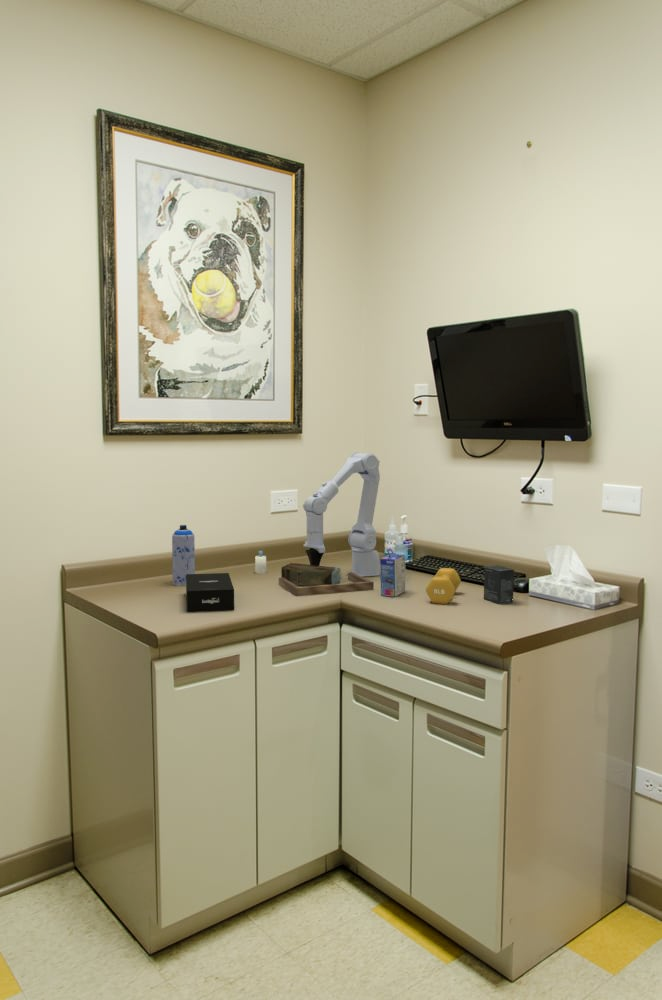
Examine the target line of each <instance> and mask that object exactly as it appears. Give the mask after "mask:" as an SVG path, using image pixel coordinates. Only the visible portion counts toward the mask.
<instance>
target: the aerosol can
mask: <svg viewBox="0 0 662 1000" xmlns="http://www.w3.org/2000/svg"><path fill="white" fill-rule="evenodd" d="M171 546H172V549H171V550H172V551H171V552H172V553H171V554H172V555H171V557H172V583H171V585H173V586H179V587H180V586H182V587H183V586H184V587H186V574H196V566H195V565H196V563H195V562H196V559H195V534H194V532H193V531H192V530H190V529H189V528H188V527H187V524H181V525H179V528H178V529H177V530H175V531H174V533H173V534H172V536H171Z"/></svg>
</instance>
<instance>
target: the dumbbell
mask: <svg viewBox="0 0 662 1000" xmlns="http://www.w3.org/2000/svg"><path fill="white" fill-rule="evenodd" d="M461 580H462V579H461V578H460V575H459V574H458V572H457V571H456V569H455V568H451V567H450V568H449V567H441V568H439V569H438V570H437V572H436V574H435V575H434V577H432V578H431V580H430V581H429V583H428V584H427V586H426V589H425V593H426V595H427V596H428V598H429V600H430V601H431V603H433V604H437V605H448V604H449V603H450V602H451V600H453V597H454V596H455V593H456V591H457V589H458V588H459V587H460V585H461V583H462V581H461Z"/></svg>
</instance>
